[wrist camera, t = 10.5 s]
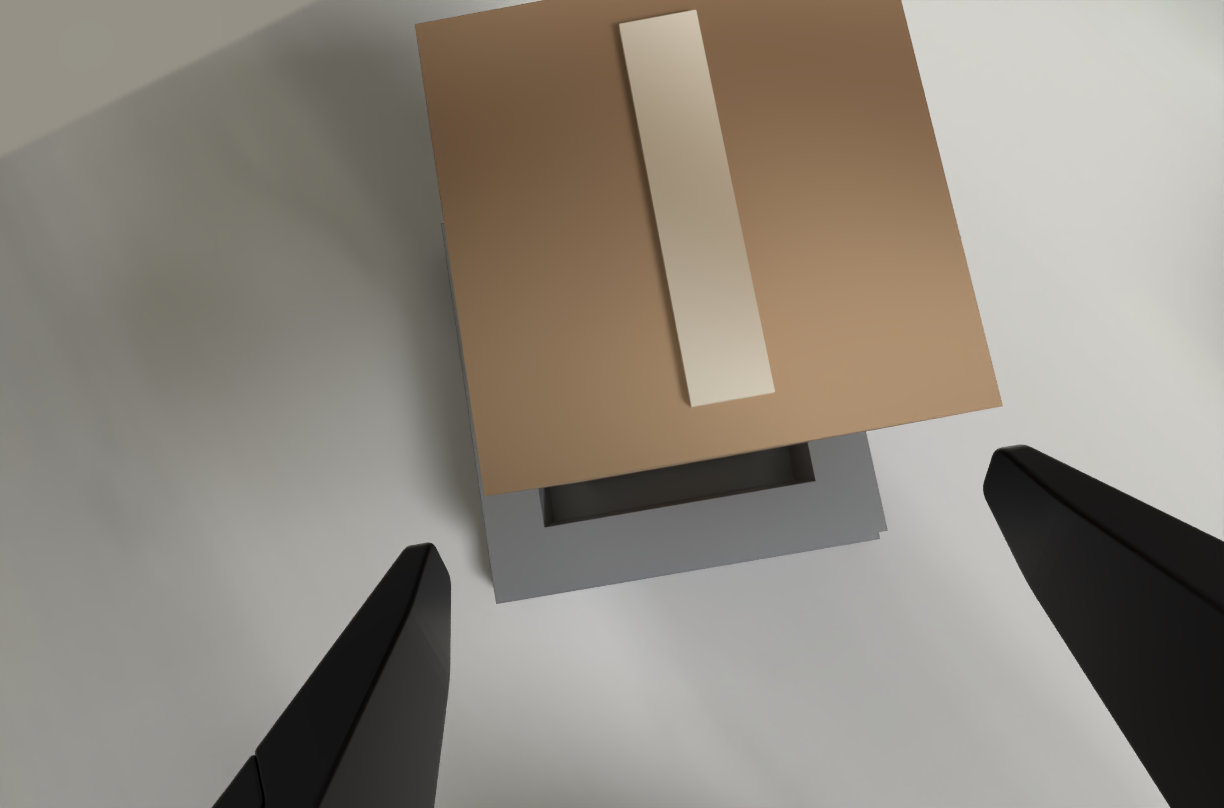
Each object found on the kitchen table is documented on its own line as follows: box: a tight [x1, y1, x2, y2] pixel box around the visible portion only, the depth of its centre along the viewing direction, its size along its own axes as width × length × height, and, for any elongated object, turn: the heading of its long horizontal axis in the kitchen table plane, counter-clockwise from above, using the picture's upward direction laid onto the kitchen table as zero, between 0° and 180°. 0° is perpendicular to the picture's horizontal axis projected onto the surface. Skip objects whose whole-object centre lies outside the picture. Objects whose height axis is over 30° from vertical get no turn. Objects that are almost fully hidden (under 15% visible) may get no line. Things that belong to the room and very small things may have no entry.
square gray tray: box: [441, 223, 888, 604], centre depth 17 cm, size 11×11×3 cm
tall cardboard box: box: [415, 0, 1003, 497], centre depth 12 cm, size 5×5×12 cm
